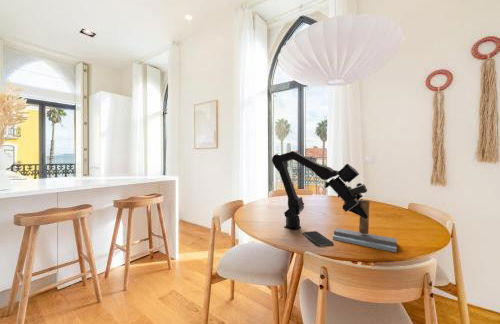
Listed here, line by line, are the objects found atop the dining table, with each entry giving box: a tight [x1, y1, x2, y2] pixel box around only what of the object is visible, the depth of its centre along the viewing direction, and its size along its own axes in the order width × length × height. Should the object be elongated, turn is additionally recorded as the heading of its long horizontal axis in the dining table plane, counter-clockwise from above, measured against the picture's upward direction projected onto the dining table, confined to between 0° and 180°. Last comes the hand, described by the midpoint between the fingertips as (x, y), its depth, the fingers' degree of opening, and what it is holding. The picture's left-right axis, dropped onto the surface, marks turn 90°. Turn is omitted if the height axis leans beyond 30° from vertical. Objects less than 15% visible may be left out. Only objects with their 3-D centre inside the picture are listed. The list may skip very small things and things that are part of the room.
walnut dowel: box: [358, 199, 370, 234], centre depth 98 cm, size 4×4×14 cm
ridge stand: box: [332, 227, 398, 253], centre depth 98 cm, size 24×10×3 cm, turn 57°
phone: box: [302, 230, 334, 247], centre depth 101 cm, size 8×1×15 cm
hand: (367, 216), depth 97 cm, fingers closed on walnut dowel, 4 cm apart
